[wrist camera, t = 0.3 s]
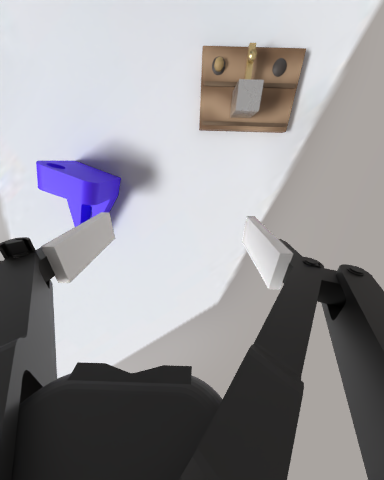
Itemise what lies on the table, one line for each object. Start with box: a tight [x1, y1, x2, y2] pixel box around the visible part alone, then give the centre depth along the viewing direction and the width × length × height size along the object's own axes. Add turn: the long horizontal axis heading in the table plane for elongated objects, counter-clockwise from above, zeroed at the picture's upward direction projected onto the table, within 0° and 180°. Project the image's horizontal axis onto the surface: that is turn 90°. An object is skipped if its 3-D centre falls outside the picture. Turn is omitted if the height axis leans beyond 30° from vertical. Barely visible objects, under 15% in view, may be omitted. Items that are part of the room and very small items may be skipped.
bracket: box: [36, 161, 121, 227], centre depth 37 cm, size 18×11×12 cm, turn 160°
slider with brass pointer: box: [230, 43, 264, 118], centre depth 27 cm, size 9×4×5 cm, turn 179°
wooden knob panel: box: [199, 46, 306, 133], centre depth 30 cm, size 12×18×3 cm, turn 89°
